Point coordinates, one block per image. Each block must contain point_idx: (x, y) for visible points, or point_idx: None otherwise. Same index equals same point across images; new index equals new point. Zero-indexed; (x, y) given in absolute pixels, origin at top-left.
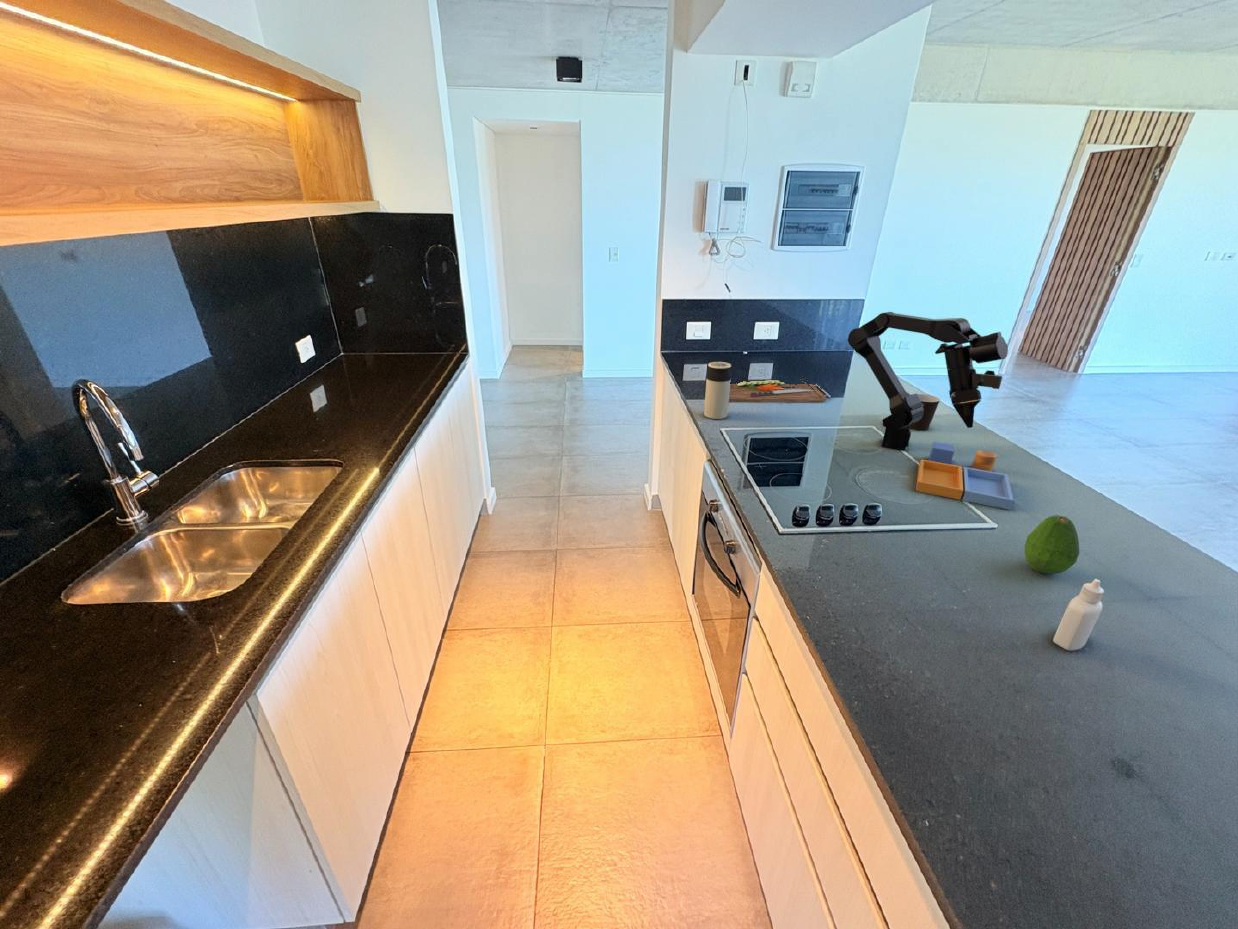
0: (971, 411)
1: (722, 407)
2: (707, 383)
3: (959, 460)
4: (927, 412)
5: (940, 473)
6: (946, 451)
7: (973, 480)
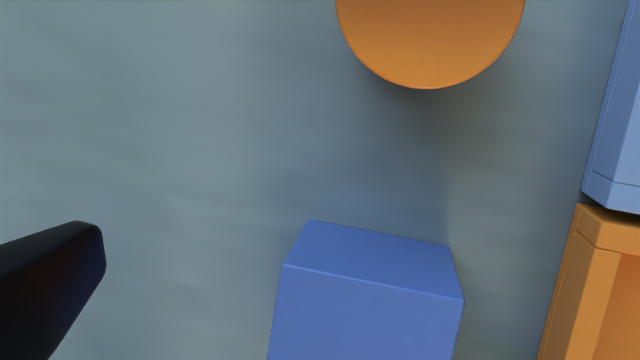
0: None
1: None
2: None
3: (249, 135)
4: None
5: (630, 350)
6: (449, 352)
7: None
